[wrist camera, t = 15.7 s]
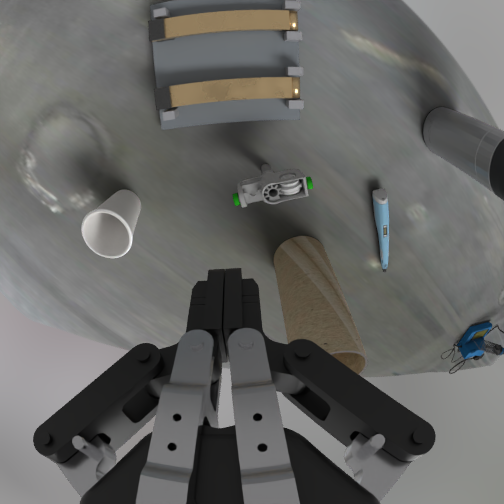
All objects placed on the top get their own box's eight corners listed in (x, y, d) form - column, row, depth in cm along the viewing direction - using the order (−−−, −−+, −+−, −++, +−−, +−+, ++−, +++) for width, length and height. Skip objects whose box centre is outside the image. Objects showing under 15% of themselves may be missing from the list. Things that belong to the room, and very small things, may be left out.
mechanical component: (231, 167, 44) (231, 193, 36) (296, 152, 43) (311, 174, 35) (236, 184, 46) (237, 213, 37) (299, 169, 45) (314, 195, 36)
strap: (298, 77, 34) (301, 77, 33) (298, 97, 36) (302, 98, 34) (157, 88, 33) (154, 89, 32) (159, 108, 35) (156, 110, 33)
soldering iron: (466, 367, 99) (480, 397, 84) (418, 382, 97) (432, 418, 82) (505, 316, 79) (526, 349, 64) (459, 328, 77) (481, 370, 62)
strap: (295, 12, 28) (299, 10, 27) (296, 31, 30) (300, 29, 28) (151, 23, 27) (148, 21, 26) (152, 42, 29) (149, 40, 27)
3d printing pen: (379, 198, 44) (391, 191, 44) (367, 191, 46) (379, 185, 47) (385, 277, 55) (395, 271, 56) (376, 269, 58) (386, 263, 58)
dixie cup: (97, 190, 44) (72, 219, 36) (137, 175, 43) (116, 202, 35) (116, 230, 49) (97, 263, 41) (155, 218, 48) (140, 252, 40)
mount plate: (293, -5, 28) (300, -12, 24) (297, 118, 40) (304, 123, 36) (153, 7, 28) (144, 0, 24) (164, 128, 39) (156, 134, 36)
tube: (288, 228, 51) (322, 345, 31) (334, 246, 54) (382, 354, 33) (264, 270, 56) (280, 386, 36) (308, 283, 59) (338, 392, 38)
